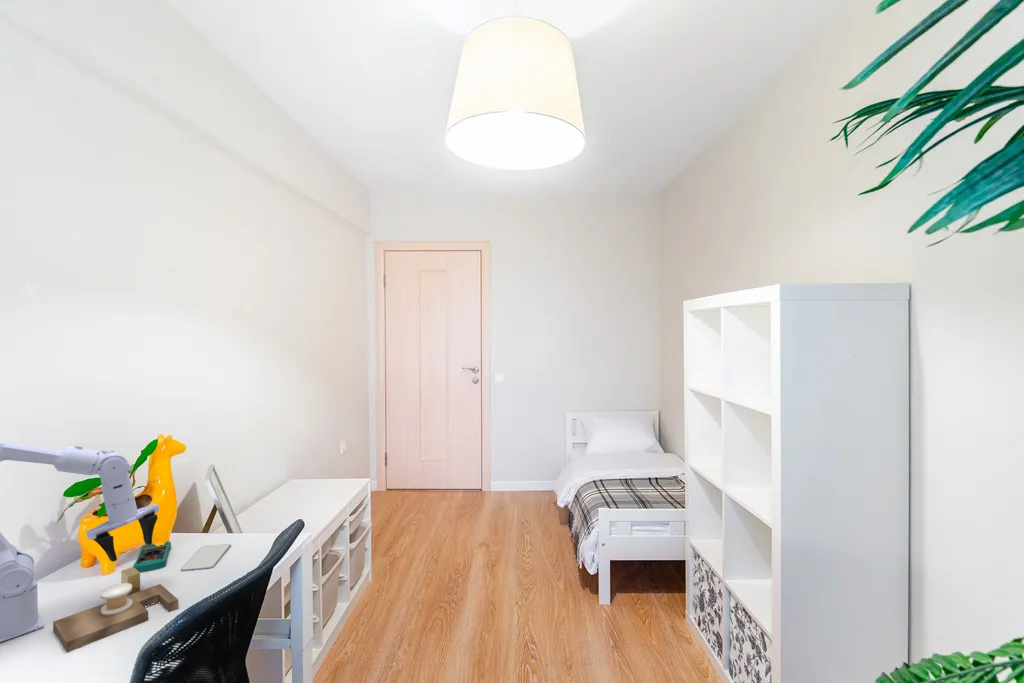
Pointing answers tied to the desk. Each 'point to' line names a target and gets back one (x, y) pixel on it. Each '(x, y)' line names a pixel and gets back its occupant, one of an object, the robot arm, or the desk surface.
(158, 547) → the digital multimeter
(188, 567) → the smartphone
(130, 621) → the notched board
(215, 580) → the desk surface
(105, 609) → the bobbin
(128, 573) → the brass tab
